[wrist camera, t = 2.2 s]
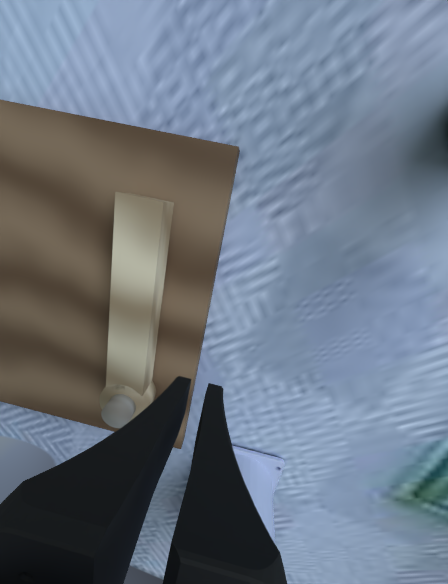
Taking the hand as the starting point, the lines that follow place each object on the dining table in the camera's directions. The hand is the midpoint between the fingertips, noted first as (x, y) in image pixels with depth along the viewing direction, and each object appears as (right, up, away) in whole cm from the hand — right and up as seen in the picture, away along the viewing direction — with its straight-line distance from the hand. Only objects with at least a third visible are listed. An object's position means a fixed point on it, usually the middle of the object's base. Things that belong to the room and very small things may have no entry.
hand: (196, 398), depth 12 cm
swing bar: (-5, +3, +8) cm, 10 cm away
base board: (-13, +5, +10) cm, 17 cm away
